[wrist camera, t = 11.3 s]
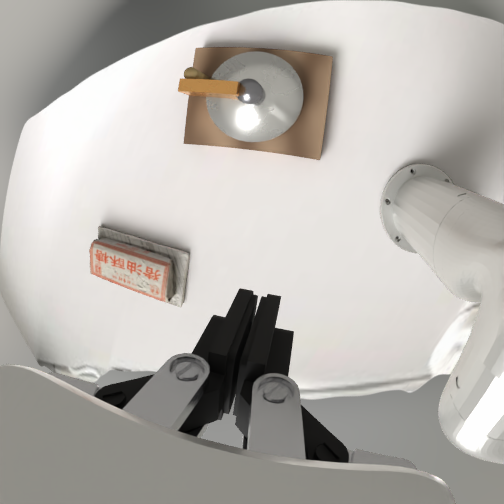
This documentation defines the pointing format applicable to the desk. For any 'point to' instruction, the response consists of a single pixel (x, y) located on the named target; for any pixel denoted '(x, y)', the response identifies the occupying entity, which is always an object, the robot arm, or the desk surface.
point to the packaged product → (140, 265)
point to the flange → (251, 96)
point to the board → (295, 138)
